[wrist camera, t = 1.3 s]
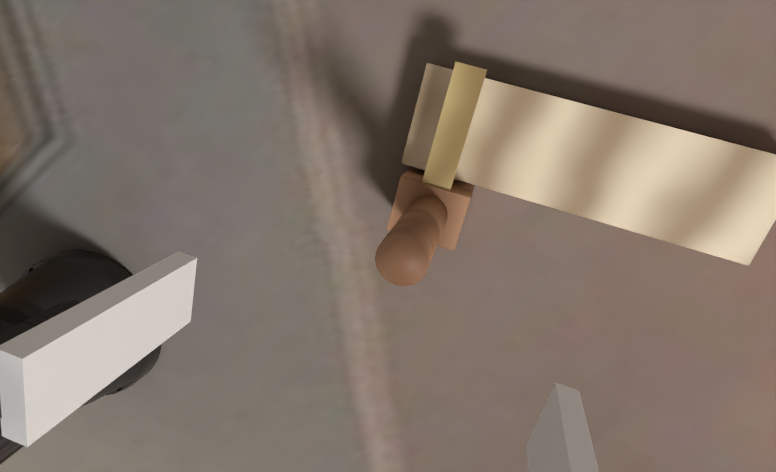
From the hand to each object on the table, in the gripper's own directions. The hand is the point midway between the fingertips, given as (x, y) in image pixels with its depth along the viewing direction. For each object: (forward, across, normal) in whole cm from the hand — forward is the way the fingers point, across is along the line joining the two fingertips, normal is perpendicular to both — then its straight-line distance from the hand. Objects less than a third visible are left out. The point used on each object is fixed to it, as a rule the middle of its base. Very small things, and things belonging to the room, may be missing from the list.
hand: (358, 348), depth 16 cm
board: (+21, +9, +6) cm, 24 cm away
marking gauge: (+21, 0, +4) cm, 22 cm away
